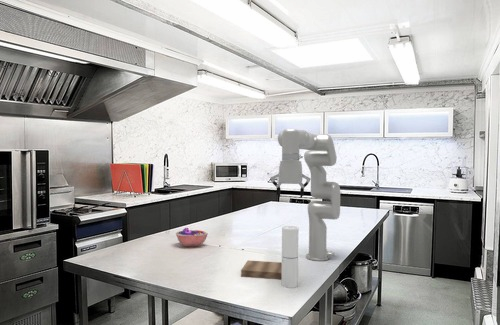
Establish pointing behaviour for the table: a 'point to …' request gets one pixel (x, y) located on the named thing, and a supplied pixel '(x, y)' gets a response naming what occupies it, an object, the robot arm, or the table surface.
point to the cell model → (191, 237)
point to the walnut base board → (262, 269)
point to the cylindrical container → (289, 256)
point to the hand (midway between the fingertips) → (290, 197)
